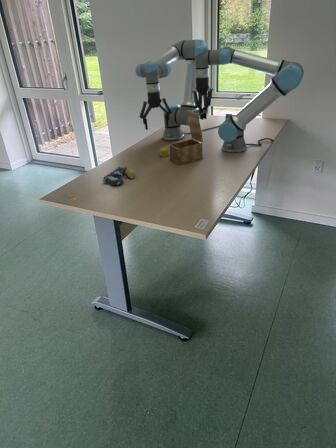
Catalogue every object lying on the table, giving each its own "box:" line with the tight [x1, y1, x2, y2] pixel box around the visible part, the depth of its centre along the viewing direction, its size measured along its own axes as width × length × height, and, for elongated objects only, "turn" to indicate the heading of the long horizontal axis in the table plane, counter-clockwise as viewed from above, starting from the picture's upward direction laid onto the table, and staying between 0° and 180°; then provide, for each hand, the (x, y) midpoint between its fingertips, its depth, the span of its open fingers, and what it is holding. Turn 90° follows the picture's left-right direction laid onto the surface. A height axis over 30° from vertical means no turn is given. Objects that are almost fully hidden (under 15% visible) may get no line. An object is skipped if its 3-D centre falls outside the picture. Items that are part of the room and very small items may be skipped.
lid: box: [187, 110, 208, 143], centre depth 203 cm, size 18×11×9 cm
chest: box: [168, 138, 204, 166], centre depth 207 cm, size 17×11×10 cm
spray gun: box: [102, 165, 136, 187], centre depth 189 cm, size 21×4×15 cm
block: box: [159, 147, 169, 158], centre depth 216 cm, size 4×4×4 cm
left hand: (156, 127), depth 208 cm, fingers open, 13 cm apart
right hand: (203, 118), depth 202 cm, fingers closed on lid, 2 cm apart
